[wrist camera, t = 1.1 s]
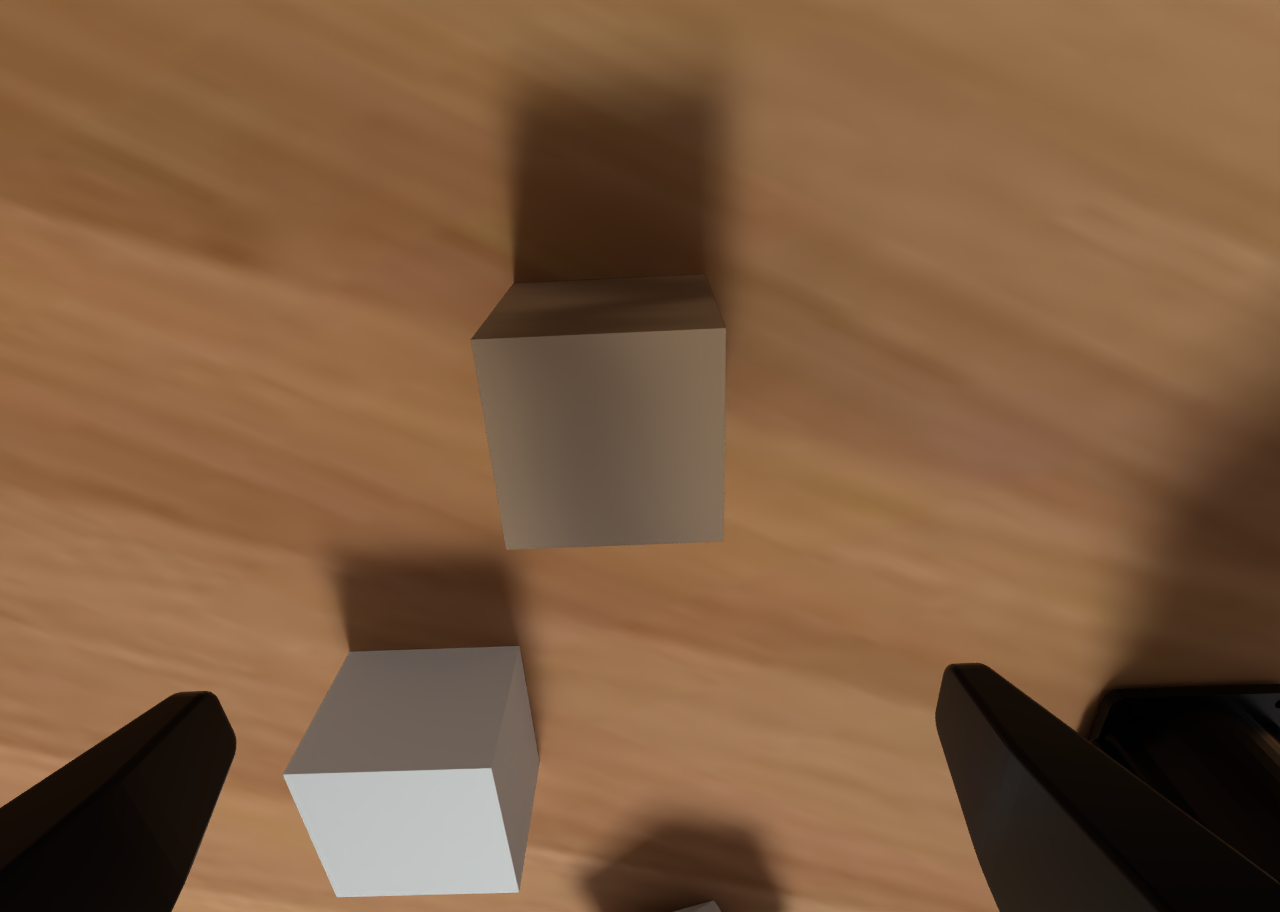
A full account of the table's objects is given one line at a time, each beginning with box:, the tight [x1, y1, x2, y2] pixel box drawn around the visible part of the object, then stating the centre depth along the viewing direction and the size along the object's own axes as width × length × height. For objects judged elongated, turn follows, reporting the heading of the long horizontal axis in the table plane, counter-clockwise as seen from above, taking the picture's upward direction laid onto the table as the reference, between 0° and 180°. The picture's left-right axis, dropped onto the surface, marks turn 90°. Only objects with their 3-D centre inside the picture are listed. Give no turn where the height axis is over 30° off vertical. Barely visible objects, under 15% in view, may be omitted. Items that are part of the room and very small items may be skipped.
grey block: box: [283, 646, 540, 897], centre depth 22 cm, size 6×6×5 cm
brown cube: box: [471, 274, 726, 550], centre depth 16 cm, size 5×5×5 cm
